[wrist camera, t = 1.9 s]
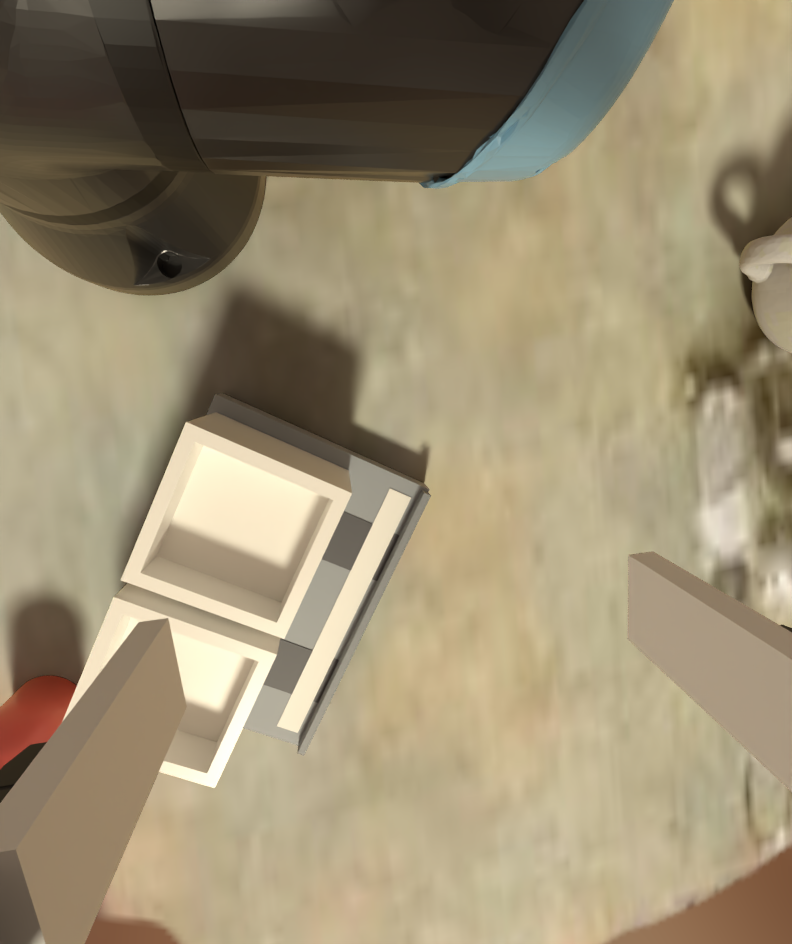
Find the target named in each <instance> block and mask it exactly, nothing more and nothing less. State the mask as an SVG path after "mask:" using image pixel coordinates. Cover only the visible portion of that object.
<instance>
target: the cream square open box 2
mask: <svg viewBox="0 0 792 944" xmlns="http://www.w3.org/2000/svg"><path fill="white" fill-rule="evenodd" d="M164 618H168V619H169V624H170V629H171V633H172V638H173V643H174V648H175V653H176V657H177V662H178V667H179V672H180V677H181V682H182V686H183V691H184V696H185V701H186V706H187V708H186V710H185V712H184V715H183V717H182V719H181V722H180V724H179V726H178V729H177V731H176V733H175V736H174V738H173V740H172V743H171V745H170V747H169V749H168V752H167V754H166V756H165V759H164V761H163V763H162V766H161V768H160V770H159V772H161V773H165V774H168V775H172V776H175V777H179V778H182V779H185V780H189V781H192V782H196V783H199V784H202V785H206V786H209V787H213V788H215V787H216V784H217V782H218V780H219V778H220V776H221V774H222V772H223V769H224V767H225V765H226V763H227V761H228V759H229V757H230V754H231V752H232V750H233V748H234V746H235V744H236V742H237V739H238V737H239V735H240V733H241V731H242V729H243V726H244V724H245V722H246V720H247V718H248V716H249V714H250V711H251V709H252V707H253V705H254V703H255V701H256V699H257V696H258V694H259V692H260V690H261V688H262V686H263V684H264V681H265V679H266V677H267V675H268V673H269V671H270V669H271V666H272V664H273V662H274V660H275V658H276V656H277V652H278V647H279V642H280V637H277V636H274V635H271V634H269V633H266V632H263V631H260V630H257V629H255V628H252V627H249V626H246V625H244V624H241V623H238V622H235V621H232V620H230V619H227V618H224V617H221V616H219V615H216V614H213V613H210V612H207V611H205V610H202V609H199V608H196V607H194V606H191V605H188V604H185V603H182V602H180V601H177V600H174V599H171V598H169V597H166V596H163V595H160V594H157V593H155V592H152V591H149V590H146V589H144V588H141V587H138V586H135V585H132V584H130V583H127V584H126V585H125V586H124V587H123V588H122V589H121V590H120V591H119V592H118V593H117V594H116V595H115V596H114V597H113V600H112V602H111V605H110V607H109V610H108V612H107V614H106V617H105V619H104V622H103V624H102V627H101V629H100V631H99V634H98V636H97V639H96V641H95V644H94V646H93V648H92V651H91V653H90V656H89V658H88V660H87V663H86V665H85V668H84V670H83V673H82V675H81V677H80V680H79V682H78V685H77V687H76V690H75V692H74V694H73V697H72V699H71V702H70V704H69V707H68V709H67V711H66V714H65V716H64V719H65V718H66V717H67V715H68V714H69V713H70V711H71V710H72V709H73V707H74V706H75V705H76V703H77V702H78V701H79V700H80V698H81V697H82V696H83V694H84V693H85V692H86V690H87V689H88V688H89V686H90V685H91V684H92V683H93V681H94V680H95V679H96V677H97V676H98V675H99V673H100V672H101V671H102V669H103V668H104V667H105V666H106V664H107V663H108V662H109V660H110V659H111V658H112V656H113V655H114V654H115V652H116V651H117V650H118V649H119V647H120V646H121V645H122V643H123V642H124V641H125V639H126V638H127V637H128V635H129V634H130V633H131V631H132V630H133V629H134V628H135V626H136V625H137V624H138V622H143V621H150V620H157V619H164ZM64 719H63V720H64ZM62 722H63V721H62Z"/></svg>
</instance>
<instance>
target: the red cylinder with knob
mask: <svg viewBox="0 0 792 944" xmlns="http://www.w3.org/2000/svg"><path fill="white" fill-rule="evenodd" d="M76 687H77V686H76V685H75V684H74V683H72V682H71V681H69V680H67V679H65V678H62V677H58V676H40V677H36V678H34V679H31V680H29V681H28V682H26V683H25V684H24V685H22V686H21V687H20V688H19V689H18V690H17V691H16V692H15V693H14V694H13V695H12V696H11V697H10V698H9V699H8V700H7V701H6V702H5V703H4V704H3V705H2V706H1V707H0V769H1V768H2V767H3V766H4V765H5V764H6V763H8V762H9V761H10V760H11V759H13V758H14V757H15V756H17V755H18V754H19V753H20V752H22V751H23V750H24V749H25V748H27V747H28V746H29V745H31V744H37V743H43V742H47V741H48V740H49V739H50V738H51V736H52V735H53V734H54V732H55V731H56V730H57V728H58V727H59V726H60V724H61V723H62V721H63V719H64V716H65V714H66V711H67V709H68V707H69V704H70V702H71V699H72V697H73V694H74V692H75V690H76Z"/></svg>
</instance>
